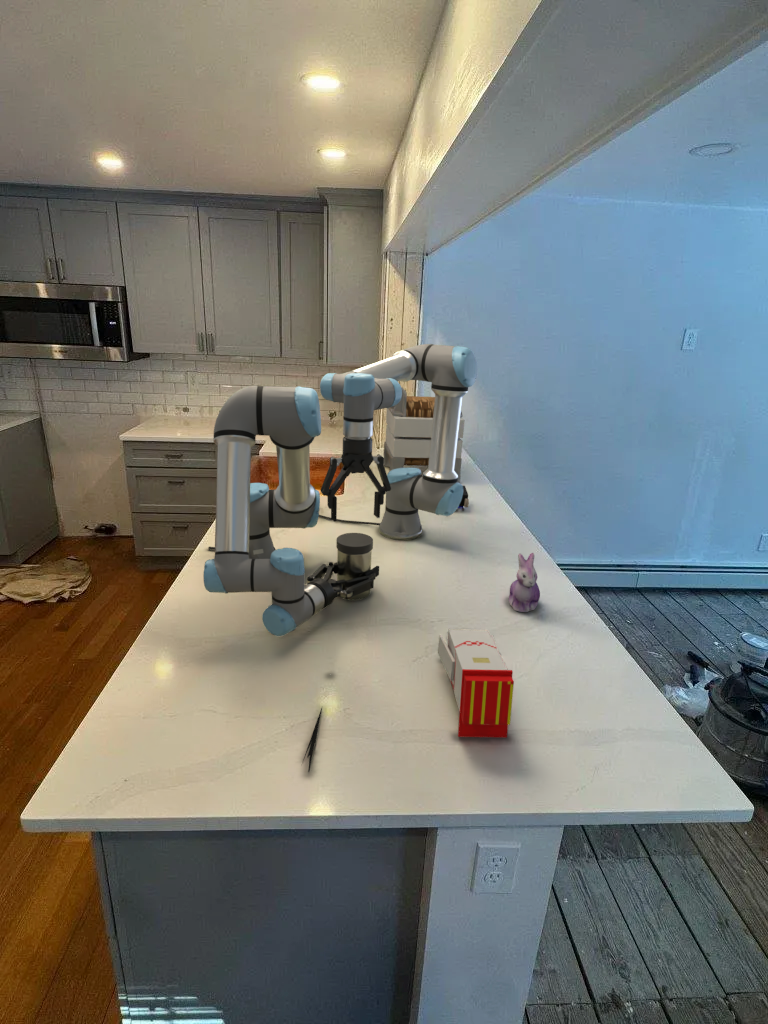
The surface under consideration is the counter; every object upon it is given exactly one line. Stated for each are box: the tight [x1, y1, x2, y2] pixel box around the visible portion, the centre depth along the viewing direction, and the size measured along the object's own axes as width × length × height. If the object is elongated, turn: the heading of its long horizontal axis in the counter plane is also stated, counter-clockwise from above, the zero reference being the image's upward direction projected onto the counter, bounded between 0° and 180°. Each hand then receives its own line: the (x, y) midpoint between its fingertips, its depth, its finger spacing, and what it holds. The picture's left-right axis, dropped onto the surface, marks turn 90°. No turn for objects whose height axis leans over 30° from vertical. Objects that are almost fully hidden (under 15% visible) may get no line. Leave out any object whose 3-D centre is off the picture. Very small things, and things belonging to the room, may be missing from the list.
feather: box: [301, 673, 332, 771], centre depth 108 cm, size 2×28×2 cm
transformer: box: [383, 386, 465, 483], centre depth 268 cm, size 34×33×41 cm
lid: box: [335, 532, 374, 554], centre depth 153 cm, size 10×10×2 cm
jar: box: [336, 548, 373, 601], centre depth 155 cm, size 9×9×16 cm
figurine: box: [508, 552, 541, 613], centre depth 152 cm, size 9×10×15 cm
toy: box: [437, 628, 515, 738], centre depth 117 cm, size 12×13×30 cm
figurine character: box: [455, 484, 470, 512], centre depth 229 cm, size 7×8×15 cm
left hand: (362, 565), depth 159 cm, fingers closed on jar, 9 cm apart
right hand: (355, 517), depth 150 cm, fingers open, 11 cm apart
